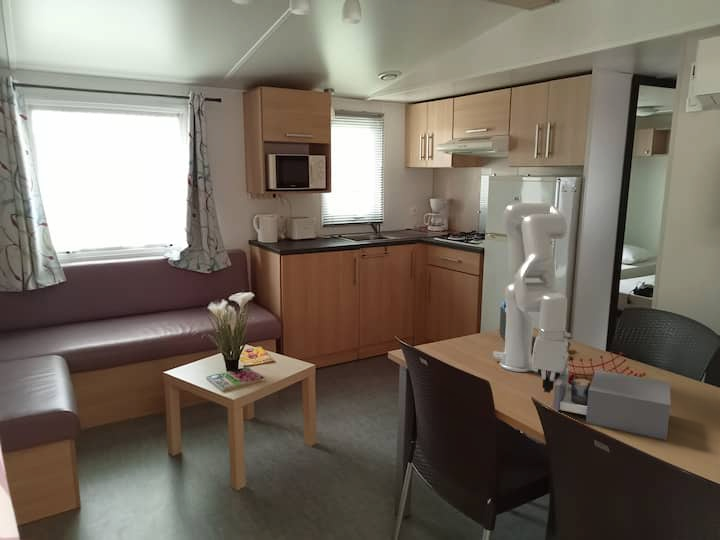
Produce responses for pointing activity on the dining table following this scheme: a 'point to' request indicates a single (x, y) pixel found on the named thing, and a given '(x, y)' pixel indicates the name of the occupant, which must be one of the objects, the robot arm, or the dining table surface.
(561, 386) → the tray
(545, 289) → the robot arm
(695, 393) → the dining table surface
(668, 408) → the block
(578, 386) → the tin
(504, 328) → the game console
